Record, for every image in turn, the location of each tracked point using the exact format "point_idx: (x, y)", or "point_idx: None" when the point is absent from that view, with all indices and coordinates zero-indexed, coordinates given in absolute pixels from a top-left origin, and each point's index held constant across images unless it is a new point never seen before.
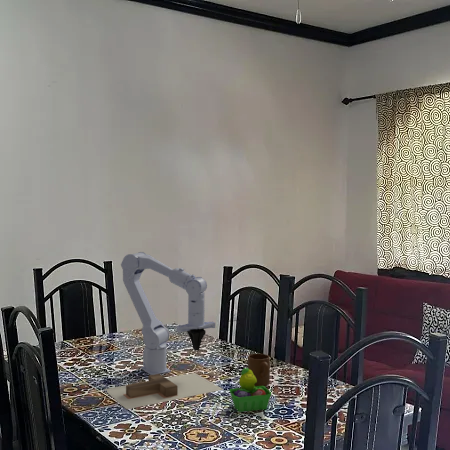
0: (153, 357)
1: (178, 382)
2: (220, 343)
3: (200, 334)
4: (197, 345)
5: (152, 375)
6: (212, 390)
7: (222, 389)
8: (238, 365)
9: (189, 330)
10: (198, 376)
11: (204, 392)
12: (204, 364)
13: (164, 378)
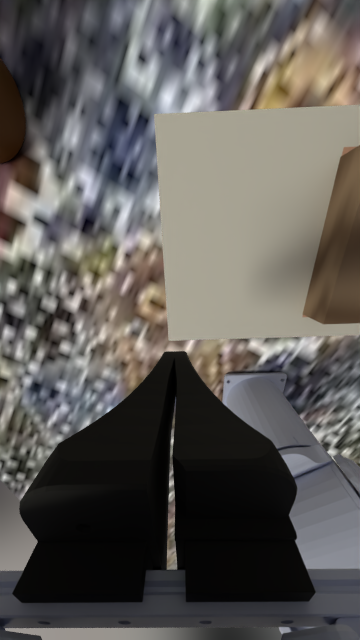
0: (301, 421)
1: (256, 285)
2: (25, 486)
3: (149, 436)
4: (179, 365)
5: (353, 318)
6: (200, 129)
7: (158, 116)
8: (17, 342)
9: (311, 578)
10: (173, 307)
11: (241, 120)
12: (113, 388)
13: (347, 265)
